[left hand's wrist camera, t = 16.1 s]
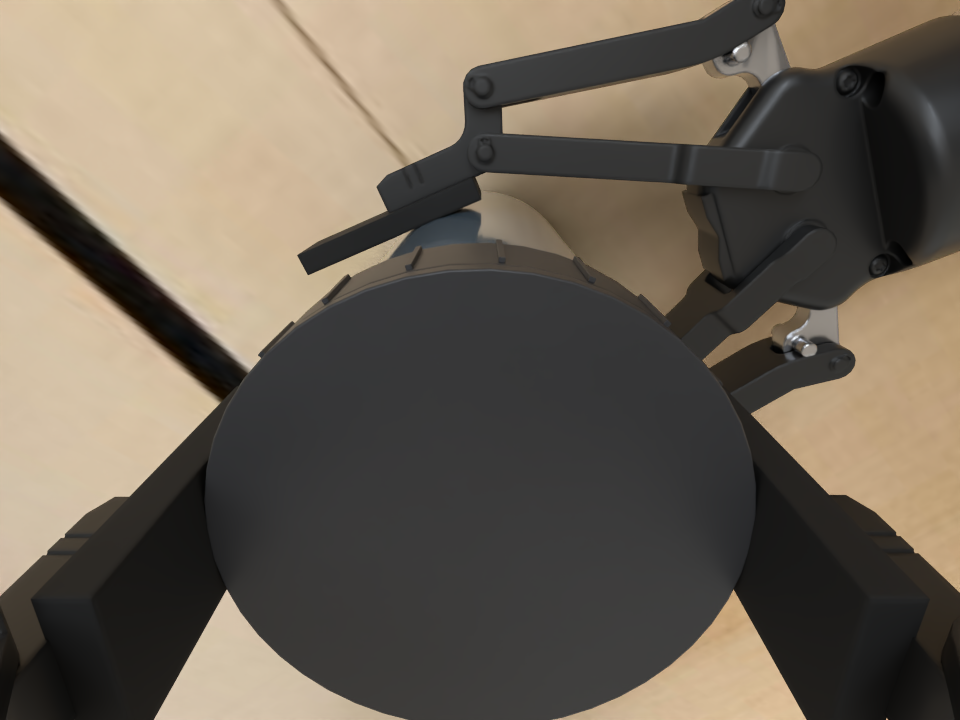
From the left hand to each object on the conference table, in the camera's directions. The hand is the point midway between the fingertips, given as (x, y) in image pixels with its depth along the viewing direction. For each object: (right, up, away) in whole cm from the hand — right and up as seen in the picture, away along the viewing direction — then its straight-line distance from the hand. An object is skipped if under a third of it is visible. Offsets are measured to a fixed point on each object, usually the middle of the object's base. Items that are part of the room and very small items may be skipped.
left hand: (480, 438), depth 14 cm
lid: (0, -1, -3) cm, 3 cm away
